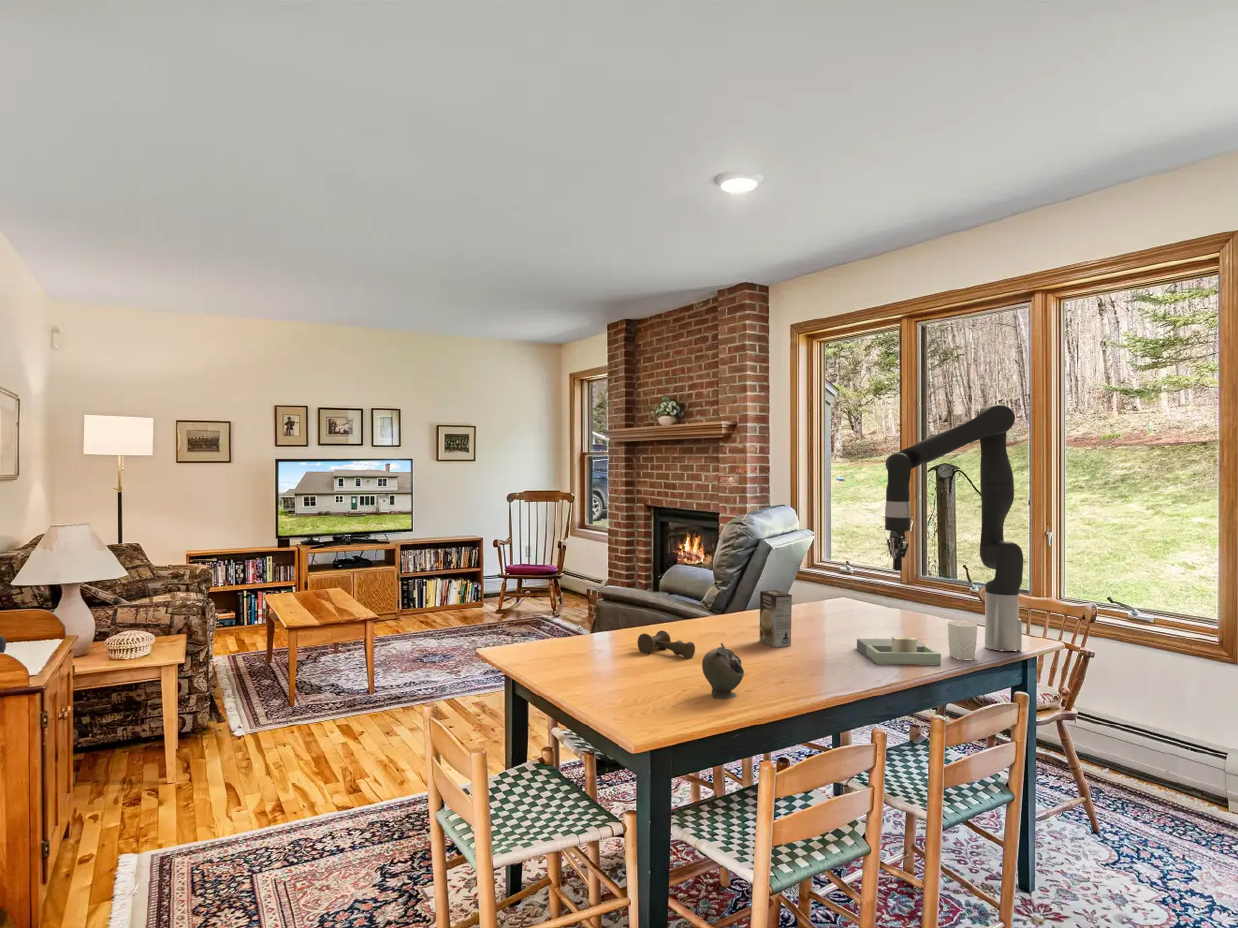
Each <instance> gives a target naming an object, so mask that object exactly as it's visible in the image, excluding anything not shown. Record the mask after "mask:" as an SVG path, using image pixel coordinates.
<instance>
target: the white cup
mask: <svg viewBox="0 0 1238 928" xmlns="http://www.w3.org/2000/svg"><path fill="white" fill-rule="evenodd" d="M947 635H948V636H947V638H948V647H949V648H948V649H949V650H948V651H949V652H948V653H949V657H950V656H952V657H955V658H959V659H958V660H960V659H973V660H975V659H974V658H976V657H975V656H976V649H977V640H978V639H977V638H978V637H977V636H978V624H977V623H975V622H971V621H966V620H965V621H964V620H949V621H948V622H947ZM952 657H951V658H952ZM955 658H954V659H955Z"/></svg>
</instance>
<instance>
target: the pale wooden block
mask: <svg viewBox="0 0 1238 928" xmlns="http://www.w3.org/2000/svg"><path fill="white" fill-rule="evenodd" d="M891 639H892V652H917V638H915V637H913V636H891Z"/></svg>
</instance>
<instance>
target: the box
mask: <svg viewBox="0 0 1238 928" xmlns="http://www.w3.org/2000/svg"><path fill="white" fill-rule="evenodd" d="M865 657H867V658H868V659H869V658H870V659H869V660H870V661H871V662H873V663H874V664H876V665H891V664H941V665H942V662H941V660H942V654H941V653H940V652H939V651H937V650H935V649H933V648H932V647H931V646H929V645H926V646H924V653H921V652H879V651H878V650H876V649H875V648H874V647H872V646H871V645H866V655H865Z"/></svg>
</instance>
